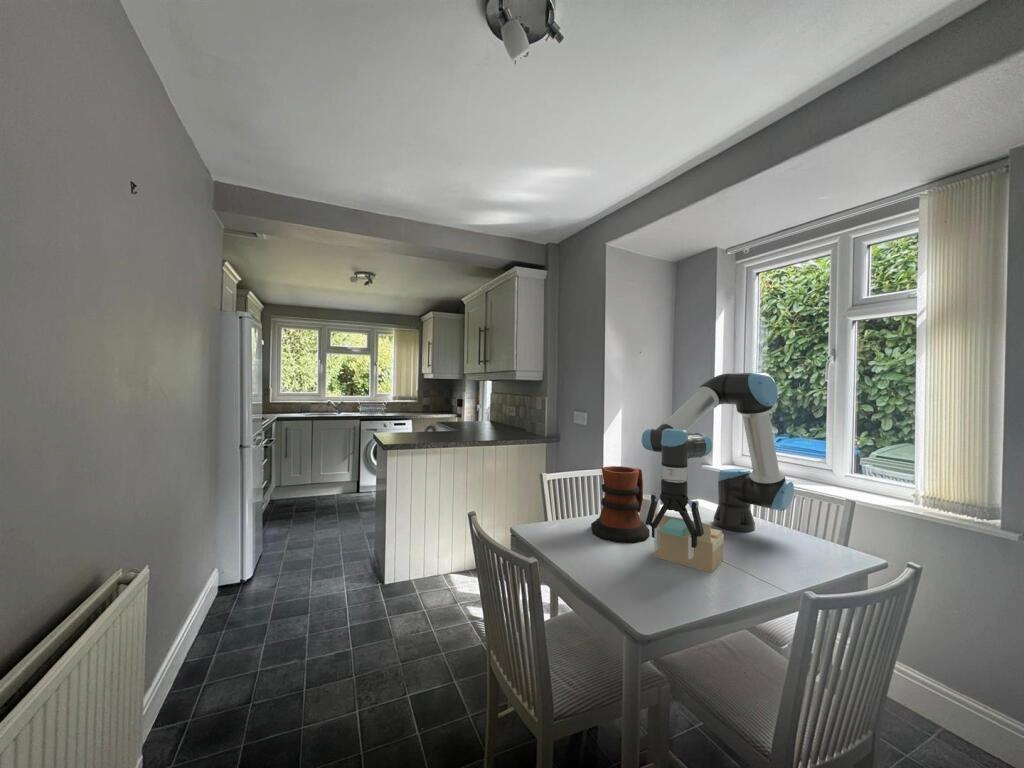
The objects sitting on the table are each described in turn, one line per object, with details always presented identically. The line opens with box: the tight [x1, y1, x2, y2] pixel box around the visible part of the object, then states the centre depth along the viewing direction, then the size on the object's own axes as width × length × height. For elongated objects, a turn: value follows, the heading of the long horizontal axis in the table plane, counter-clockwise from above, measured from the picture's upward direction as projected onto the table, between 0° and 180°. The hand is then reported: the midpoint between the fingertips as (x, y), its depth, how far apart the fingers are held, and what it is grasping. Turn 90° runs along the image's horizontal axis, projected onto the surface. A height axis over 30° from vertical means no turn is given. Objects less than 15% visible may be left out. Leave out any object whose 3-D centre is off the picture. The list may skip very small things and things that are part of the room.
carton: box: [654, 528, 725, 574], centre depth 140 cm, size 12×18×10 cm, turn 50°
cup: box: [638, 494, 661, 524], centre depth 180 cm, size 8×12×10 cm
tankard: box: [590, 465, 651, 544], centre depth 165 cm, size 22×25×25 cm
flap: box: [655, 513, 712, 544], centre depth 132 cm, size 6×17×9 cm
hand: (673, 553), depth 129 cm, fingers open, 9 cm apart
